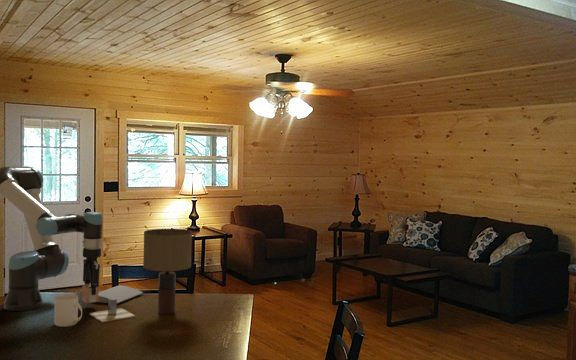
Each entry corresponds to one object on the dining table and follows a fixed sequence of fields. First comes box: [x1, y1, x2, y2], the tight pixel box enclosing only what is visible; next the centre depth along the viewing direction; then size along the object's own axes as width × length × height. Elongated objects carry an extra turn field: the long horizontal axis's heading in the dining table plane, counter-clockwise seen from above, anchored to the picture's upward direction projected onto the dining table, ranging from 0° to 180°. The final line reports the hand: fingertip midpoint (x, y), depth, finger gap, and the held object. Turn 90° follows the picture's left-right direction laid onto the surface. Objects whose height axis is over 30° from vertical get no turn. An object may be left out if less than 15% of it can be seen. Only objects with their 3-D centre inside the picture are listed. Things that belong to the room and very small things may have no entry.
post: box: [107, 298, 118, 316], centre depth 225 cm, size 3×3×7 cm
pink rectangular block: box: [81, 283, 100, 304], centre depth 236 cm, size 5×5×7 cm
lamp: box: [142, 228, 193, 315], centre depth 232 cm, size 20×20×35 cm
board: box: [89, 307, 136, 324], centre depth 225 cm, size 14×14×1 cm
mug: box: [53, 293, 83, 328], centre depth 212 cm, size 9×12×11 cm
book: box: [97, 284, 144, 305], centre depth 254 cm, size 15×23×4 cm, turn 162°
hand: (89, 300), depth 236 cm, fingers closed on pink rectangular block, 5 cm apart
